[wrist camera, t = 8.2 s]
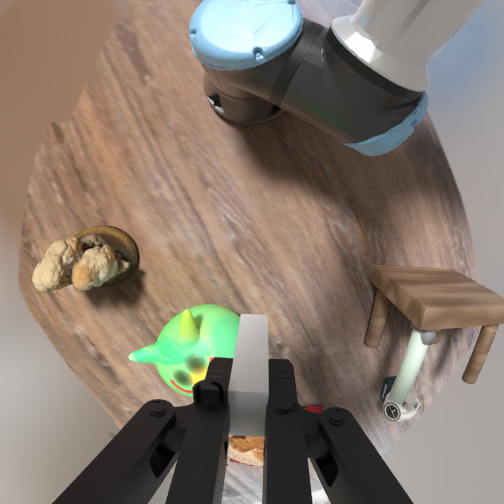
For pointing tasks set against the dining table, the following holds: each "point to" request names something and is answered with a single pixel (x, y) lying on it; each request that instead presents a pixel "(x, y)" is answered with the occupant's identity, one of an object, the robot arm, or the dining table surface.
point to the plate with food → (252, 446)
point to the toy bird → (191, 345)
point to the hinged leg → (411, 364)
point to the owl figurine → (87, 260)
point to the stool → (436, 306)
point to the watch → (396, 410)
